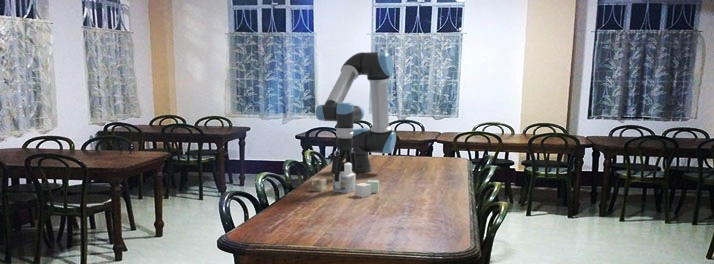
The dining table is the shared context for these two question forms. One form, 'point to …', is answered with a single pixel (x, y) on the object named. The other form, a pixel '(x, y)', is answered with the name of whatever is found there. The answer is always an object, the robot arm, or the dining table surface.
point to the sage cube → (374, 185)
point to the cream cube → (362, 190)
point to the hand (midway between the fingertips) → (344, 186)
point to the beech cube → (318, 184)
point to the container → (346, 179)
